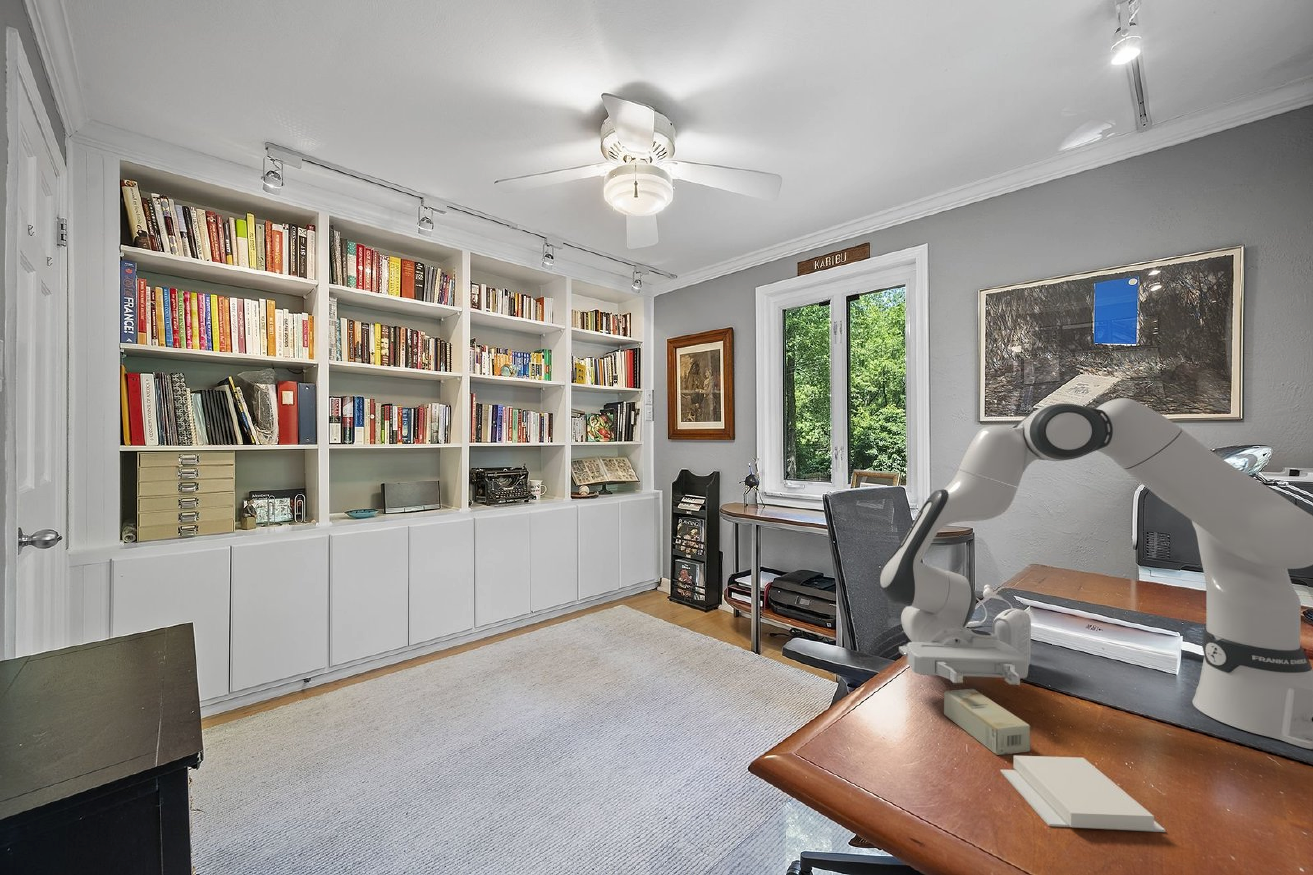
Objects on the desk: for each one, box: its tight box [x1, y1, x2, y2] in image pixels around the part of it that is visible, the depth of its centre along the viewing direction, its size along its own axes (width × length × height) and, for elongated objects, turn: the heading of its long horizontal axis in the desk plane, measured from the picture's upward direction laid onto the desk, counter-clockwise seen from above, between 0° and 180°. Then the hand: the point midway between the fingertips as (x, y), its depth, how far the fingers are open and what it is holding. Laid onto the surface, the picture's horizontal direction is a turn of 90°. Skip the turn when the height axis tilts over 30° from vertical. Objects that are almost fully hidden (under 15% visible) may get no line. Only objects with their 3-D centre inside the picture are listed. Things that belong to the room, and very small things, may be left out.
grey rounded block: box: [992, 607, 1032, 667], centre depth 114 cm, size 10×4×12 cm, turn 123°
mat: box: [999, 769, 1166, 833], centre depth 74 cm, size 14×11×1 cm
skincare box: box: [943, 688, 1031, 756], centre depth 90 cm, size 6×4×12 cm
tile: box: [1012, 755, 1155, 831], centre depth 74 cm, size 10×2×12 cm
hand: (987, 679), depth 92 cm, fingers open, 8 cm apart
